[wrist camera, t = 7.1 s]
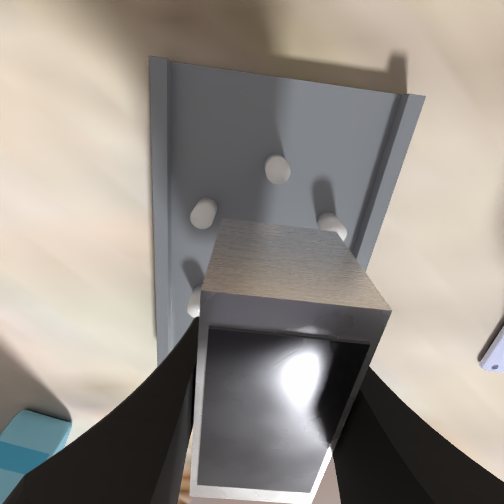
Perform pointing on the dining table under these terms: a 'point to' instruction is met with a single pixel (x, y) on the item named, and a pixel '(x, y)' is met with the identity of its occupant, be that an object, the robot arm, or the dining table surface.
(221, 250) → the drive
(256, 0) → the dining table surface
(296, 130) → the pin tray
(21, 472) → the blue box
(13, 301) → the dining table surface
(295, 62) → the dining table surface
